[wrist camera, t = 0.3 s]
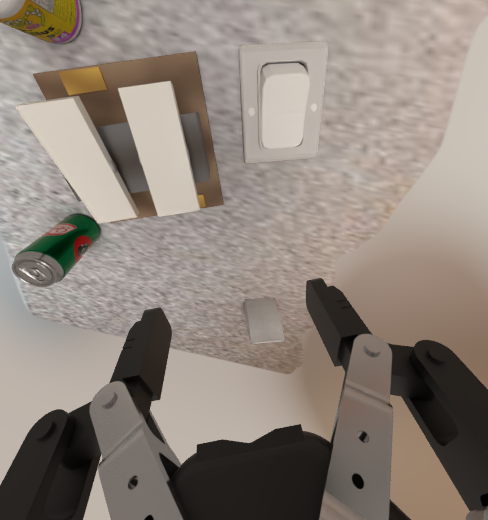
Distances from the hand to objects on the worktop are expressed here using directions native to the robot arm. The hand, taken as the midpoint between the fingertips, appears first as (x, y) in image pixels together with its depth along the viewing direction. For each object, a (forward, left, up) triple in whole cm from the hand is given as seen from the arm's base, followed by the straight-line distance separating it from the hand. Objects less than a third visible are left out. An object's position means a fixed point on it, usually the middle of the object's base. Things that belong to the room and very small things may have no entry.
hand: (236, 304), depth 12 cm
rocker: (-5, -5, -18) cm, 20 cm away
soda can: (+4, -23, -26) cm, 36 cm away
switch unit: (-5, -9, -26) cm, 28 cm away
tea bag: (+29, +4, -26) cm, 40 cm away
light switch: (-8, +10, -27) cm, 30 cm away
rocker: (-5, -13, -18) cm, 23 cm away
